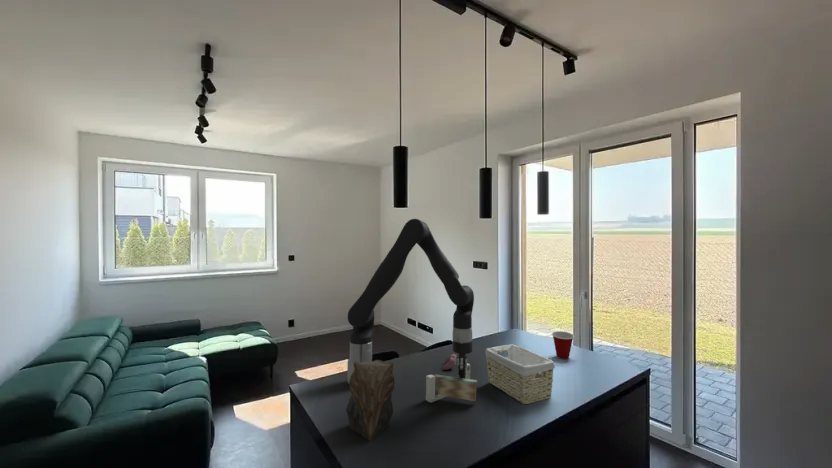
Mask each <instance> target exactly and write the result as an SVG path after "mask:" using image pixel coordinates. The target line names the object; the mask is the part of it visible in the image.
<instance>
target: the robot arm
mask: <svg viewBox="0 0 832 468" xmlns="http://www.w3.org/2000/svg"><path fill="white" fill-rule="evenodd" d="M416 244H417V245H418V246H419V248H420V249H421V250H423V252H424V253H425V255H426V257H427V259H428V261H429V264H430V266H431V268H432V269H433V271H434V273H435V274H436V276H437V277H438V279H439V280H440V282H441V283H442V284H443V286H444V289H445V291H446V294H447V295H448V298H449V300H450V301H451V302H452V303H453V304H454V305H455V306H456V309H455V311H454V312H453V317H452V318H453V320H452V322H453V323H452V324H453V325H452V352H453V353H454V354H455V353H456V355H457V357H456V363H457V370H458V371H457V372H458V373H457V374H458V378H465V376H466V370H467V363H468V360H469V359H468V358H469V357H468V356H469V355H467V354H472V352H473V329H472V328H473V326H472V325H473V324H472V321H473V320H472V315H473V308H474V303H475V293H474V290H473V289H472V287H470V286H469V285H462V284H461V282H460V280H459V277H460V276H459V273H458V271H457V270H456V268H455V267H454V266H453V265H452V263H451V262H450V261H449V259H448V258H447V256H446V255H445V254H444V252H443V251H442V250H441V248H440V246H439V245H438V243H437V241H436V240H435V238H434V236H433V234H432V231H431V229H430V227H429V226H428V224H427V223H426V222H425V221H422V220H421V219H419V218H411V219H409V220H408V221H407V222H406V223H405V224H404V225H403V227H402V229H401V231H400V233H399V235H398V237H397V239H396V240H395V242H394V244H393V246H392V247H391V248H390V250H389V251H388V253H387V254H386V256H384V259H383V260H382V262H381V263H380V264H379V266H378V268H377V269H376V270H375V272H374V273H373V275H372V277H371V278H370V280H369V282H368V283H367V285H366V287H365V289H364V291H363V292H362V293H361V294H360V296H359V297H358V298H357V300H356V301H355V302H354V304H352V306H351V307H350V308H349V309H348V312H347V321H348V323H349V325H350V326H352V331H351V333H350V335H349V359H348V360H347V371H346V372H347V374H346V375H347V381H346V382H347V384H348V385H350V383H349V382H350V376H351V375H352V373H353V371H354V363H355V362H369V361H370V362H372V361H373V336H374V331H375V307H376V306H377V305H378V303H379V302H380V301H381V299H383V298H384V296H385V295H386V294H387V293H389V291H390V290H391V289H392V288H393V287H394V285H395V283H397V281H398V279H399V277H401V274H402V273H403V270H404V267H405V265H406V261H407V258H408V257H409V254H410V252H412V249H414V247H415V246H416Z"/></svg>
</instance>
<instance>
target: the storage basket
mask: <svg viewBox="0 0 832 468" xmlns="http://www.w3.org/2000/svg"><path fill="white" fill-rule="evenodd" d="M500 353H506V356H503V355H500ZM485 356H486V357H485V358H486V368H487V377H488V383H490V384H491V385H493V386H494V387H496V388H498V389H499V390H500V391H503V392H504V393H505V394H507V395H508V396H510V397H512V398H513V399H515V400H517V402H519V403H520V404H524V405H528V404H533V403H536V402H540V401H544V400H548V399H550V398H551V397H552V389H553V382H554V379H553V378H554V369H555V368H556V367H555V363H554V361H553V360H552V359H550V358H547V357H545V356H543V355H541V354H538V353H536V352H533V350H529V349H527V348H525V347H522V346H520V345H515V344H513V343H512V344H504V345H498V346H493V347H486V349H485Z"/></svg>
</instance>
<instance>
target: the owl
mask: <svg viewBox="0 0 832 468" xmlns="http://www.w3.org/2000/svg"><path fill="white" fill-rule="evenodd" d="M393 370H394V362H387V361H384V360H381V359H375V360H372V362H370V361H369V362H355V363H354V371H353V373H352V375H351V376H350V382H349V383H350V384H349V389H350V390H349V391H350V392H351V395H350V398H349V399H348V403H347V405H346V408H345V411H346V414H347V418H348V423H349V429H350V430H352V431H354V433H357V434H358V435H360V436H361V438H363V439H366V440H367V441H369V442H371V441H373V440H374V439H375V438H376V437H377V436H380V434H381V433H383V432H384V431H385V429H387V428H388V427H390V424H391V423H390V422H391V420H392V416H393V414H394V409H393V401H392V395H393V391H394V389H395V385H394V384H395V376H394V374H393Z"/></svg>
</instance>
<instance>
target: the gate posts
mask: <svg viewBox="0 0 832 468" xmlns="http://www.w3.org/2000/svg"><path fill="white" fill-rule="evenodd" d="M433 375H434V374H428V375H426V376H425V378H426V379H425V382H426V383H425V401H427V402H428V403H434V402H436V401H438V400H441V399H444V398H447V397H446V396H440V395H437V396H436V395H435V376H433ZM465 379H471V364H470V363H468V362H467V370H466V376H465Z"/></svg>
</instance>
